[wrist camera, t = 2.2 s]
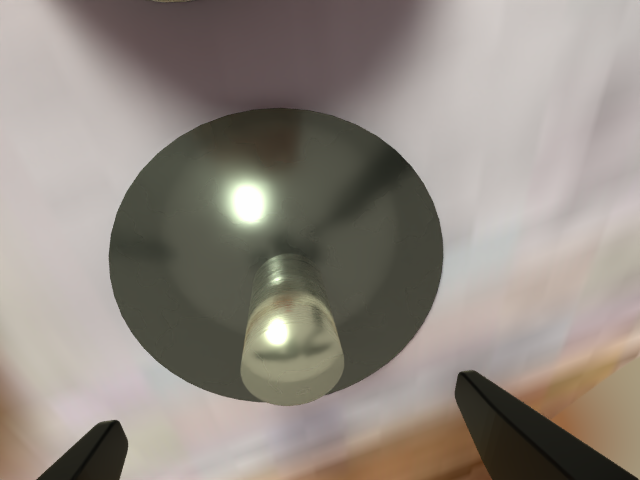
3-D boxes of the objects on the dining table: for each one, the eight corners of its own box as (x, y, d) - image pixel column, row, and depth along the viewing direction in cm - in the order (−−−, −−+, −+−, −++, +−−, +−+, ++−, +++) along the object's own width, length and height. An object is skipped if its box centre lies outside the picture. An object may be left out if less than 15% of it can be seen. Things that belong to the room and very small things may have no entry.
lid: (493, 240, 15) (607, 305, 10) (316, 422, 19) (332, 543, 13) (235, 13, 10) (191, -95, 5) (60, 317, 14) (-76, 442, 8)
